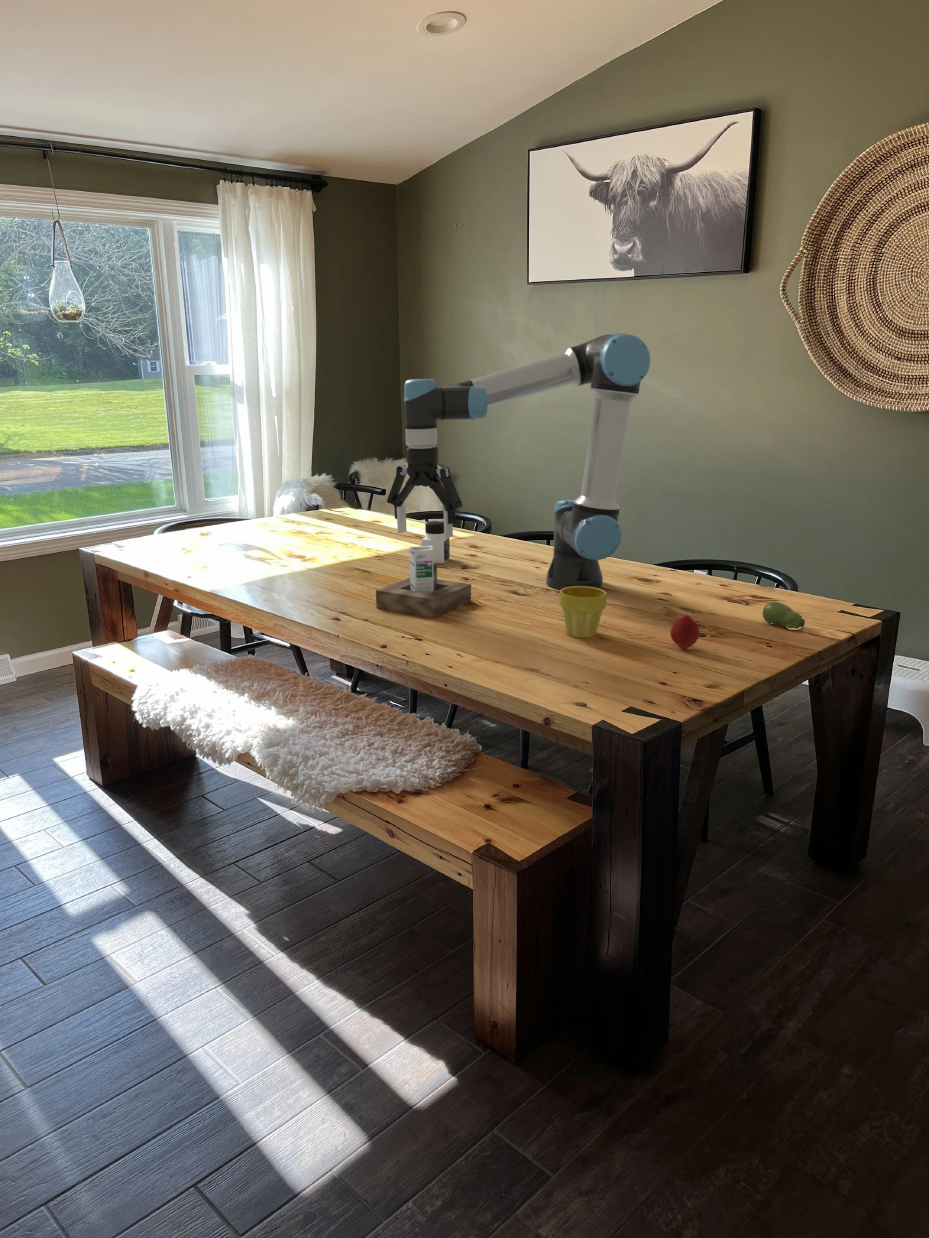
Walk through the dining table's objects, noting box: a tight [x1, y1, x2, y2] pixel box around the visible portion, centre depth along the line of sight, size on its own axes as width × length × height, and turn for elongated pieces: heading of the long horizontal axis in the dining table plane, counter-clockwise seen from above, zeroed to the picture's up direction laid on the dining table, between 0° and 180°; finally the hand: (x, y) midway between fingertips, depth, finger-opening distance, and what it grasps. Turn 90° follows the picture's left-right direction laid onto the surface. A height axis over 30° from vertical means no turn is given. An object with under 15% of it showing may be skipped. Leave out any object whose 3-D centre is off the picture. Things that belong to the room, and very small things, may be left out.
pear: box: [762, 601, 806, 629], centre depth 204 cm, size 6×5×10 cm
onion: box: [670, 612, 700, 650], centre depth 187 cm, size 6×6×8 cm
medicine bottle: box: [420, 520, 451, 564], centre depth 268 cm, size 7×7×12 cm
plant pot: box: [558, 586, 608, 639], centre depth 198 cm, size 10×10×10 cm
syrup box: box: [408, 545, 438, 593], centre depth 221 cm, size 6×6×14 cm
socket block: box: [375, 577, 472, 619], centre depth 222 cm, size 17×17×4 cm
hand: (425, 534), depth 218 cm, fingers open, 13 cm apart
